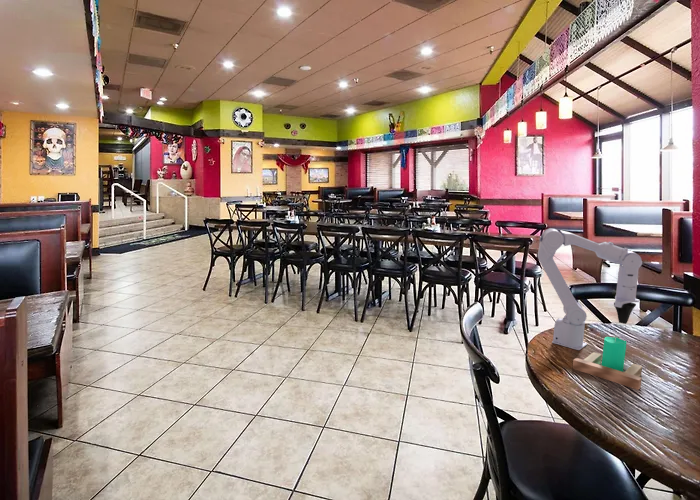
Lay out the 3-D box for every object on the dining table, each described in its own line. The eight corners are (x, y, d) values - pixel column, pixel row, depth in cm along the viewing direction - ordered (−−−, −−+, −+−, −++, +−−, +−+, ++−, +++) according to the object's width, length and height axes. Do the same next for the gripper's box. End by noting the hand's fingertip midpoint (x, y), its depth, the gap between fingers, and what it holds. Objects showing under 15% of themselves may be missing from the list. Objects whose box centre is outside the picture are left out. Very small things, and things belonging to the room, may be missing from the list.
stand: (572, 368, 132) (573, 359, 131) (586, 358, 139) (586, 350, 139) (638, 389, 119) (639, 380, 118) (649, 377, 126) (650, 368, 125)
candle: (626, 376, 127) (630, 339, 125) (604, 374, 128) (608, 338, 126) (618, 367, 132) (622, 332, 130) (598, 365, 134) (601, 331, 132)
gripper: (633, 291, 134) (628, 330, 136) (647, 284, 143) (642, 320, 145) (609, 287, 139) (605, 325, 141) (624, 280, 148) (620, 316, 151)
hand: (622, 322), depth 144 cm, fingers closed
